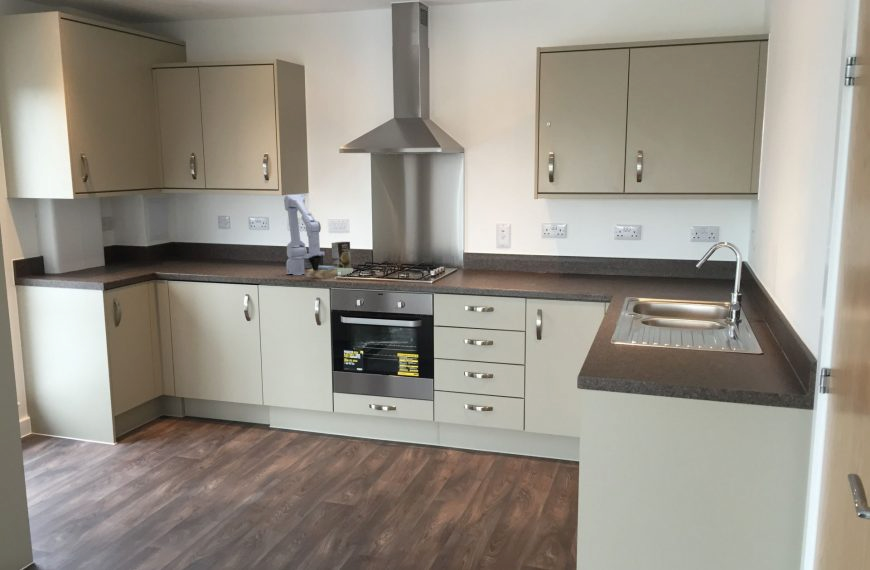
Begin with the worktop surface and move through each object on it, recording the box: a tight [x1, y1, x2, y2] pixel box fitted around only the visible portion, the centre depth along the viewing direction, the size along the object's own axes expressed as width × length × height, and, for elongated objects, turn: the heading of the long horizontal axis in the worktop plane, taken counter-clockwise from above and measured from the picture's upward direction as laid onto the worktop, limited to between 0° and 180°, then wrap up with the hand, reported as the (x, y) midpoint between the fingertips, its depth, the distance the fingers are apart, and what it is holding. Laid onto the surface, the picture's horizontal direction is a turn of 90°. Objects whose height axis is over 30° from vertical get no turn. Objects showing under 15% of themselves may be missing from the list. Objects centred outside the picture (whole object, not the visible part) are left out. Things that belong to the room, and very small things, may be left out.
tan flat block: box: [305, 268, 338, 279], centre depth 393 cm, size 13×11×4 cm
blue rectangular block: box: [318, 265, 335, 270], centre depth 391 cm, size 9×6×2 cm, turn 61°
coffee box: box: [331, 241, 352, 268], centre depth 414 cm, size 9×6×16 cm
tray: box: [337, 267, 355, 277], centre depth 401 cm, size 14×11×2 cm
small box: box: [304, 250, 325, 270], centre depth 426 cm, size 11×6×10 cm, turn 80°
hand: (315, 270), depth 384 cm, fingers closed
